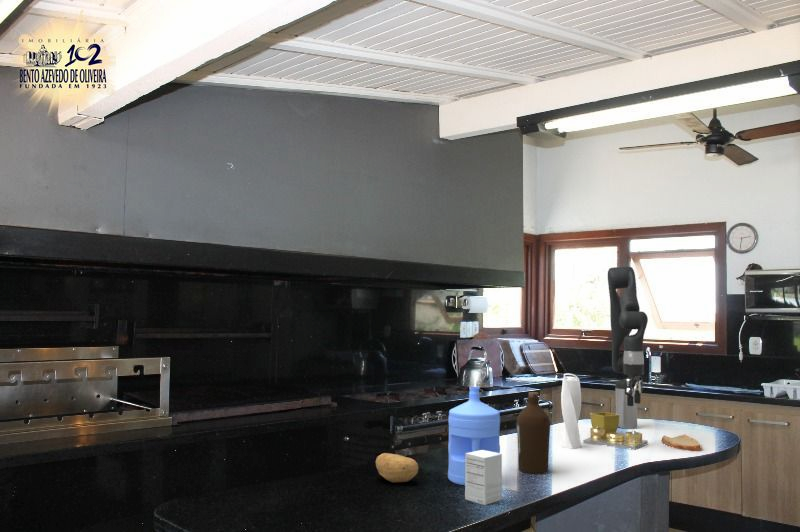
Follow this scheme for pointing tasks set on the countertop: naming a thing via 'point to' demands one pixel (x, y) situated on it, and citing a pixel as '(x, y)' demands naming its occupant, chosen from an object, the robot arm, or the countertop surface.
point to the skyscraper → (571, 411)
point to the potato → (396, 467)
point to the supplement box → (483, 477)
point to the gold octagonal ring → (634, 438)
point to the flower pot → (605, 421)
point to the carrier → (610, 439)
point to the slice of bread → (682, 443)
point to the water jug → (471, 433)
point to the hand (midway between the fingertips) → (633, 404)
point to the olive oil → (533, 437)
